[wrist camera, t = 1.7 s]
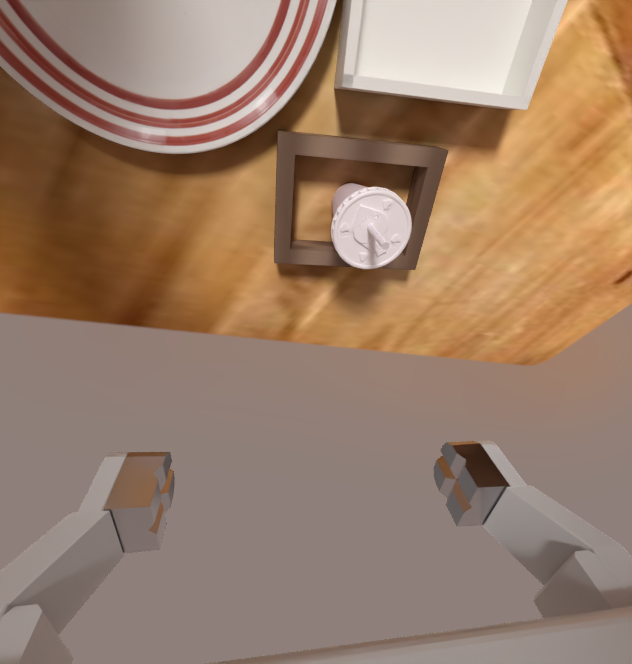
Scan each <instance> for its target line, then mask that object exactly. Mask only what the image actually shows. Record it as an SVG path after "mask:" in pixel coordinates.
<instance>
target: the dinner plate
mask: <svg viewBox="0 0 632 664" xmlns="http://www.w3.org/2000/svg"><path fill="white" fill-rule="evenodd" d="M336 2H337V0H0V67H2V68H3V69H4V70H5V71H6V72H7V73H8V74H9V75H10V76H11V77H12V78H13V79H15V80H16V81H17V82H18V83H19V84H20V85H21V86H23V87H24V88H25V89H26V90H27V91H28V92H30V93H31V94H32V95H33V96H35V97H36V98H37V99H39V100H40V101H41V102H42V103H44V104H45V105H46V106H48V107H49V108H51V109H52V110H54V111H55V112H57V113H58V114H60V115H61V116H63V117H64V118H66V119H68V120H69V121H71V122H73V123H74V124H76V125H78V126H80V127H82V128H84V129H86V130H88V131H90V132H92V133H94V134H96V135H98V136H100V137H102V138H105V139H107V140H110V141H113V142H115V143H118V144H121V145H124V146H127V147H131V148H135V149H139V150H144V151H149V152H156V153H167V154H188V153H198V152H205V151H210V150H214V149H217V148H221V147H224V146H227V145H229V144H231V143H234V142H236V141H238V140H240V139H242V138H244V137H246V136H248V135H249V134H251V133H253V132H255V131H256V130H258V129H259V128H261V127H262V126H263V125H264V124H266V123H267V122H268V121H269V120H271V119H272V118H273V117H274V116H275V115H276V114H277V113H278V112H279V111H280V110H281V109H282V108H283V107H284V106H285V105H286V104H287V103H288V101H289V100H290V99H291V98H292V97H293V95H294V94H295V93H296V91H297V90H298V89H299V87H300V86H301V84H302V83H303V81H304V80H305V78H306V77H307V75H308V73H309V71H310V70H311V68H312V66H313V64H314V62H315V60H316V58H317V56H318V54H319V51H320V49H321V47H322V45H323V42H324V40H325V37H326V34H327V31H328V29H329V26H330V23H331V20H332V17H333V13H334V10H335V6H336Z"/></svg>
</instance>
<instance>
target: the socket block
mask: <svg viewBox="0 0 632 664" xmlns="http://www.w3.org/2000/svg"><path fill="white" fill-rule="evenodd" d="M447 154H448V150H446V149H442V148H439V147H435V146H426V145H416V144H406V143H397V142H387V141H378V140H368V139H359V138H349V137H339V136H330V135H320V134H311V133H301V132H292V131H282V130H278V133H277V169H276V204H275V239H274V263H284V264H304V265H325V266H345V267H354V266H351V265H350V264H348V263H347V262H345V261H344V260H343V259H342V258H341V257H340V255H339V254H338V252H337V251H336V249H335V247H334V244H333V242H324V241H307V240H290V239H291V221H292V203H293V185H294V167H295V155H304V156H314V157H325V158H336V159H346V160H357V161H367V162H378V163H388V164H399V165H409V166H415V169H414V173H413V178H412V182H411V186H410V190H409V195H408V199H407V203H406V206H407V207H408V209H409V212H410V215H411V221H412V228H411V234H410V238H409V240H408V243H407V245H406V246H405V248H404V250H403V251H402V252H401V253H400V255H399V256H398V257H397V258H395V259H394V260H393V261H391V262H390V263H388V264H386V265H384V266H382V267H379V268H387V269H407V270H415V269H416V265H417V261H418V258H419V254H420V251H421V247H422V243H423V240H424V236H425V233H426V229H427V225H428V222H429V218H430V215H431V211H432V208H433V204H434V200H435V197H436V193H437V190H438V186H439V182H440V179H441V175H442V172H443V168H444V164H445V161H446V157H447Z"/></svg>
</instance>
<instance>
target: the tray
mask: <svg viewBox="0 0 632 664" xmlns="http://www.w3.org/2000/svg"><path fill="white" fill-rule="evenodd" d="M566 3H567V0H343V6H342V16H341V26H340V35H339V45H338V55H337V65H336V75H335V84H334V89H342V90H350V91H358V92H366V93H374V94H382V95H390V96H398V97H406V98H414V99H422V100H430V101H438V102H446V103H454V104H462V105H470V106H478V107H486V108H494V109H509V110H527V108H528V106H529V103H530V100H531V98H532V95H533V92H534V89H535V87H536V84H537V81H538V79H539V76H540V73H541V71H542V68H543V65H544V62H545V60H546V57H547V54H548V52H549V49H550V46H551V44H552V41H553V38H554V36H555V33H556V30H557V27H558V25H559V22H560V19H561V17H562V14H563V11H564V9H565V6H566Z"/></svg>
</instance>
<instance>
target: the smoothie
mask: <svg viewBox="0 0 632 664" xmlns="http://www.w3.org/2000/svg"><path fill="white" fill-rule="evenodd" d="M332 212H333V221H332V226H331V237H332V242H333V244H334V247H335V249H336V251H337V252H338V254H339V255H340V257H341V258H342V259H343V260H344V261H345V262H347V263H348V264H350V265H351V266H354V267H356V268H360V269H375V268H379V267H382V266H384V265H386V264H388V263H390V262H391V261H393V260H394V259H395V258H397V257H398V256H399V255H400V253H401V252H402V251H403V250H404V248H405V246H406V245H407V243H408V240H409V238H410V234H411V228H412V221H411V215H410V212H409V209H408V207H407V206H406V204H405V203H404V201H403V200H402V199H401V198H400V197H399V196H398V195H397V194H396V193H394V192H392V191H390V190H388V189H386V188H381V187H365V186H362V185H358V184H355V183H347V184H344V185H342V186H340V187H339V188H338V189H337V190H336V192H335V193H334V195H333V198H332Z"/></svg>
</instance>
